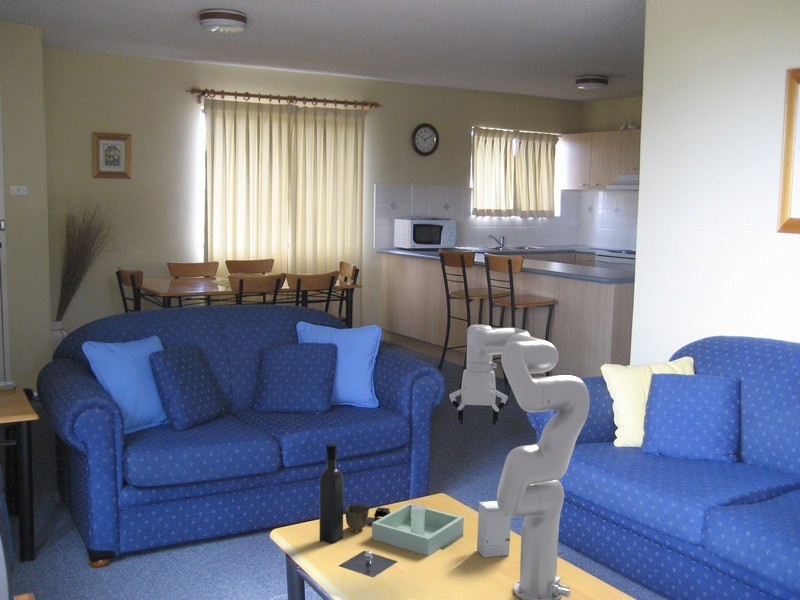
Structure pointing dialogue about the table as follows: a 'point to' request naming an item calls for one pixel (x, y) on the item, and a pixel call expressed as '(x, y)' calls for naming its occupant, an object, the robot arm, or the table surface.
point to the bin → (437, 534)
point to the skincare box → (493, 530)
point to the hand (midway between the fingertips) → (477, 423)
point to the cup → (356, 516)
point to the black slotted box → (378, 515)
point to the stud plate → (368, 563)
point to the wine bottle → (331, 500)
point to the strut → (418, 519)
